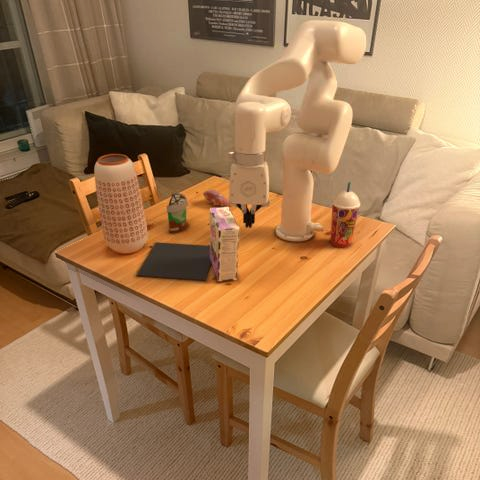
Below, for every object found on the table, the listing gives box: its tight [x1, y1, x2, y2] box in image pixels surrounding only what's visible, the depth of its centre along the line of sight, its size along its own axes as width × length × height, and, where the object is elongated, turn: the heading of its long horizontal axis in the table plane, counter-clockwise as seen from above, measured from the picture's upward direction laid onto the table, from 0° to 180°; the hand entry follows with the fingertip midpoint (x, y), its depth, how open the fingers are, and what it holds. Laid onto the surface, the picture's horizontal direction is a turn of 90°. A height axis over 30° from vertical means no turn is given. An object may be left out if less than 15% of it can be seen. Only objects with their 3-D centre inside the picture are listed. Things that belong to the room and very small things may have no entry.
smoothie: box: [330, 181, 361, 248], centre depth 140 cm, size 8×8×20 cm
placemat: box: [136, 242, 212, 282], centre depth 137 cm, size 20×20×1 cm
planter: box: [93, 153, 148, 255], centre depth 135 cm, size 13×13×28 cm
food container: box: [166, 191, 189, 234], centre depth 153 cm, size 12×6×10 cm, turn 179°
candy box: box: [209, 206, 240, 282], centre depth 128 cm, size 14×6×16 cm, turn 13°
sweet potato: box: [203, 188, 231, 207], centre depth 169 cm, size 10×5×7 cm, turn 47°
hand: (248, 225), depth 123 cm, fingers closed
